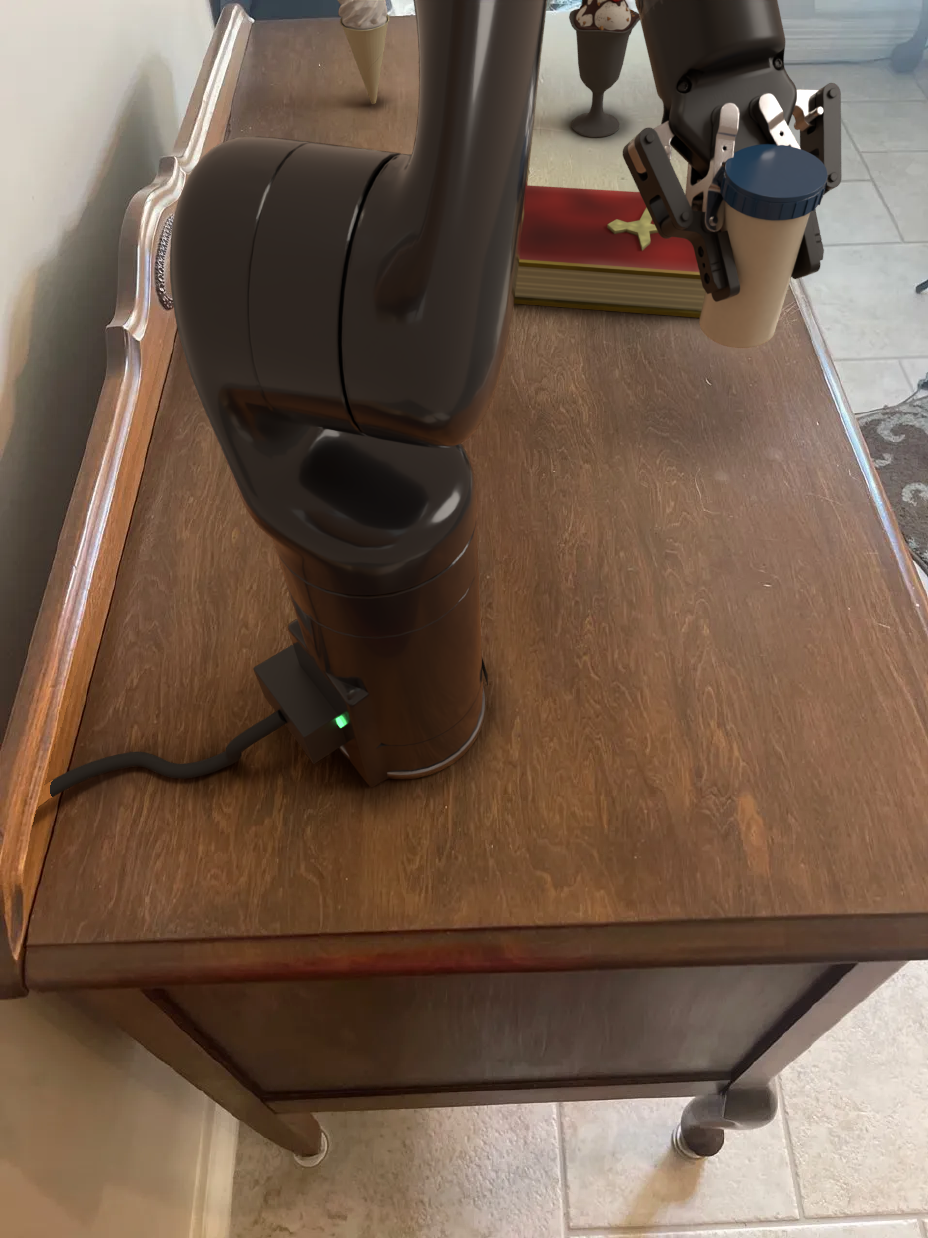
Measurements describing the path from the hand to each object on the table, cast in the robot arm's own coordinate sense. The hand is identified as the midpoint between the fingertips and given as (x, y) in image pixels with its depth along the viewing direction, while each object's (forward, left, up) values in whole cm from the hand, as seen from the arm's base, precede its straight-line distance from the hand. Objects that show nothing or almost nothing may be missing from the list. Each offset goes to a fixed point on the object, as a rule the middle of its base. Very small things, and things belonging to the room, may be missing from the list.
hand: (767, 285), depth 57 cm
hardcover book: (+7, +23, -13) cm, 27 cm away
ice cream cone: (+8, +60, -5) cm, 61 cm away
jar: (0, +2, -4) cm, 5 cm away
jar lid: (0, +2, +6) cm, 6 cm away
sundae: (+23, +41, -13) cm, 49 cm away
